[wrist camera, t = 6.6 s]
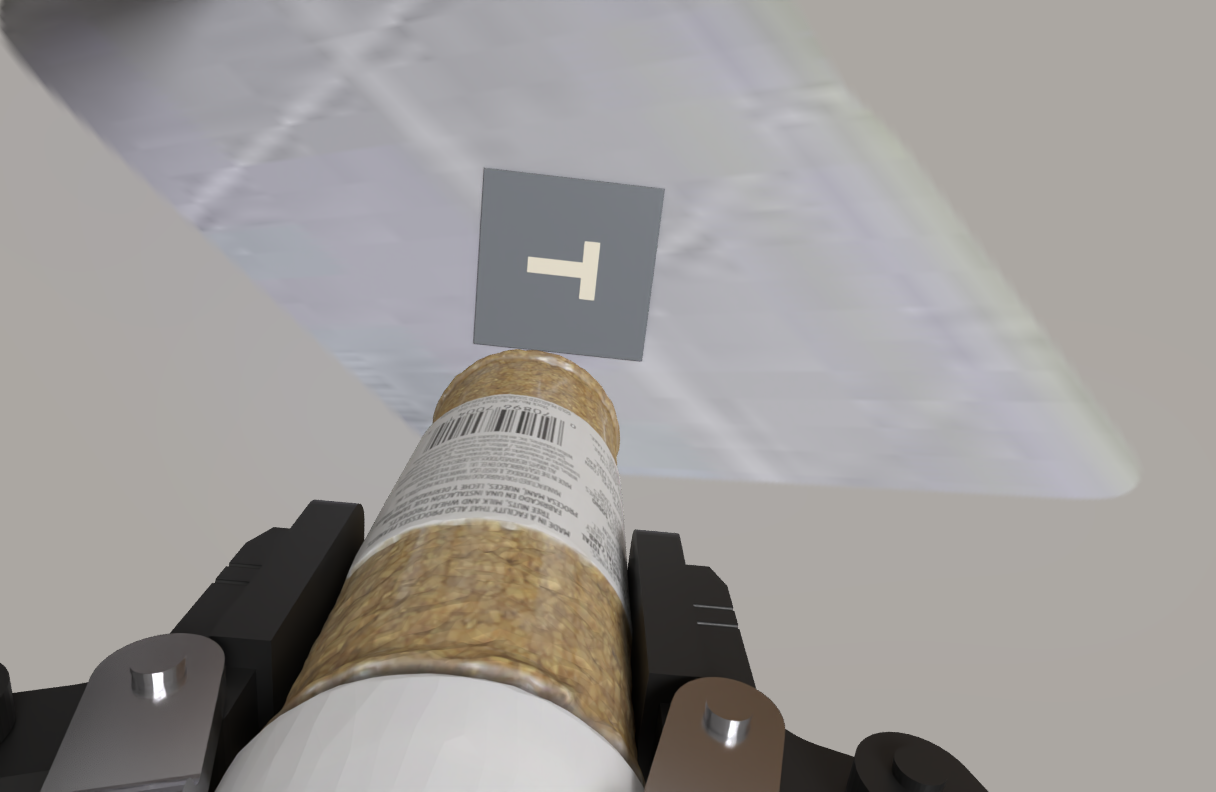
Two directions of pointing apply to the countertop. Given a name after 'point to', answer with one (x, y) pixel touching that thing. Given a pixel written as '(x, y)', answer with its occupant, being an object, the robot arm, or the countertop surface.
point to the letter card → (566, 264)
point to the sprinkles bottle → (477, 610)
